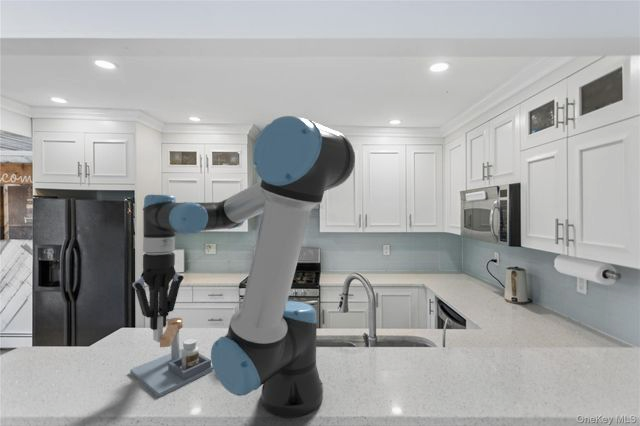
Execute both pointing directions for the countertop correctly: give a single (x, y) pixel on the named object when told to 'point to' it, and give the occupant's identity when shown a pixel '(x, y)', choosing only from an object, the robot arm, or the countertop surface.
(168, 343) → the lever
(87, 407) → the countertop surface
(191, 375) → the board
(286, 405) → the robot arm
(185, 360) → the pill bottle
